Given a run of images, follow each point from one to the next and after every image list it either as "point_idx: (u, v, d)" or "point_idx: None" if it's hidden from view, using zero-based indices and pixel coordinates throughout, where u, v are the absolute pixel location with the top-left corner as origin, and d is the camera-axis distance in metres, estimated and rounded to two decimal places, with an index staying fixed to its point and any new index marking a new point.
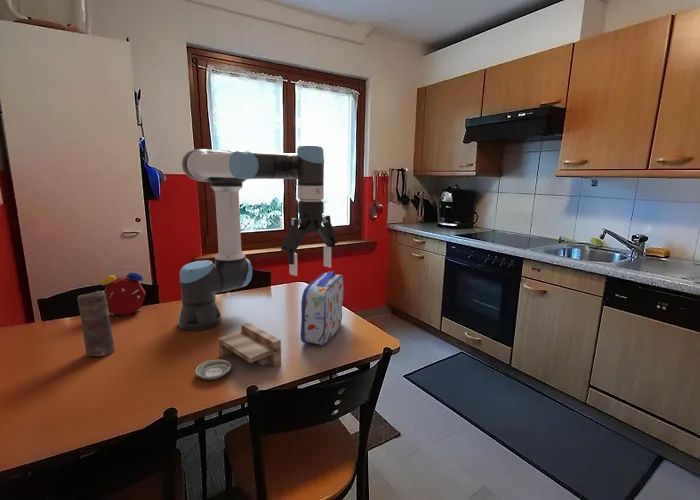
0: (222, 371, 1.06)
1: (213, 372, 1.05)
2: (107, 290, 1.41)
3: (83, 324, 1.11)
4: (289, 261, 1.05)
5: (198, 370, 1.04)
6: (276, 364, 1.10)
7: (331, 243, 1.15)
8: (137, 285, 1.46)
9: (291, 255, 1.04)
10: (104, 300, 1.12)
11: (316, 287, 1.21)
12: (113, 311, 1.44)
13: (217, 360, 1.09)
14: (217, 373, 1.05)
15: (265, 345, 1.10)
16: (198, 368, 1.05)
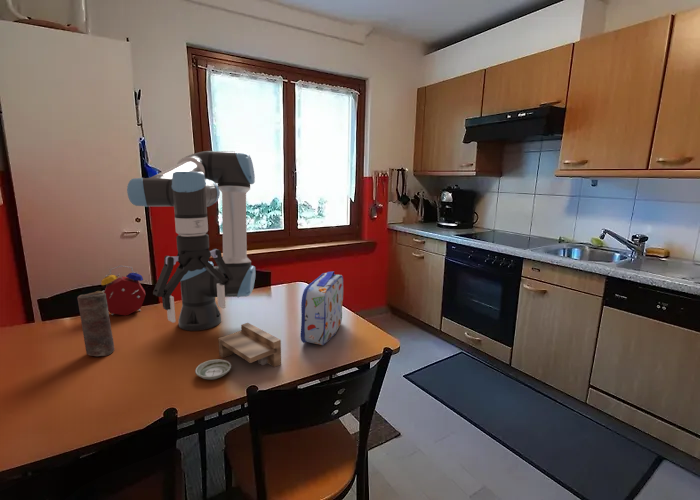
0: (222, 371, 1.06)
1: (213, 372, 1.05)
2: (107, 290, 1.41)
3: (83, 324, 1.11)
4: (164, 306, 0.89)
5: (198, 370, 1.04)
6: (276, 364, 1.10)
7: (224, 281, 1.00)
8: (137, 285, 1.46)
9: (166, 299, 0.89)
10: (104, 300, 1.12)
11: (316, 287, 1.21)
12: (113, 311, 1.44)
13: (217, 360, 1.09)
14: (217, 373, 1.05)
15: (265, 345, 1.10)
16: (198, 368, 1.05)
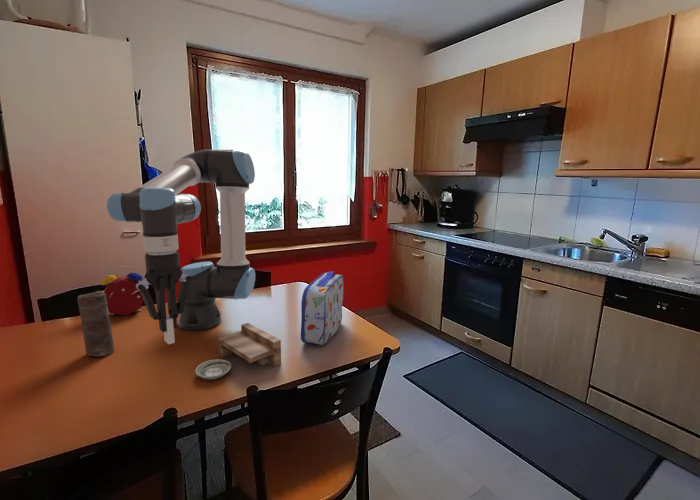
0: (222, 371, 1.06)
1: (213, 372, 1.05)
2: (107, 290, 1.41)
3: (83, 324, 1.11)
4: (160, 328, 0.92)
5: (198, 370, 1.04)
6: (276, 364, 1.10)
7: (174, 313, 0.93)
8: None
9: (162, 322, 0.91)
10: (104, 300, 1.12)
11: (316, 287, 1.21)
12: (113, 311, 1.44)
13: (217, 360, 1.09)
14: (217, 373, 1.05)
15: (265, 345, 1.10)
16: (198, 368, 1.05)
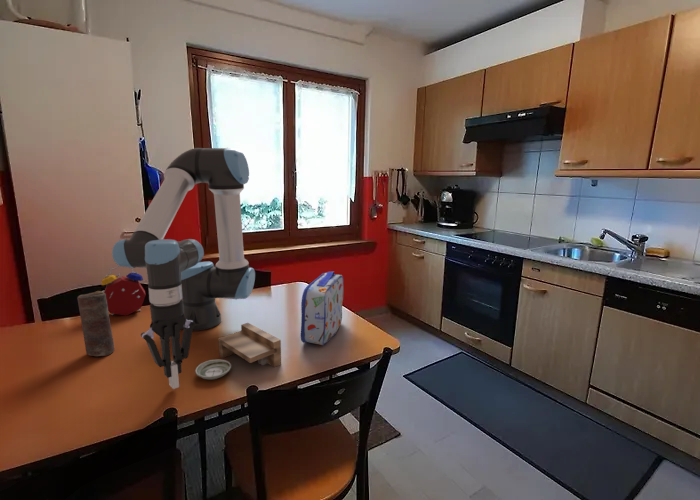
0: (222, 371, 1.06)
1: (213, 372, 1.05)
2: (107, 290, 1.41)
3: (83, 324, 1.11)
4: (165, 374, 0.95)
5: (198, 370, 1.04)
6: (276, 364, 1.10)
7: (178, 359, 0.96)
8: (137, 285, 1.46)
9: (167, 368, 0.94)
10: (104, 300, 1.12)
11: (316, 287, 1.21)
12: (113, 311, 1.44)
13: (217, 360, 1.09)
14: (217, 373, 1.05)
15: (265, 345, 1.10)
16: (198, 368, 1.05)
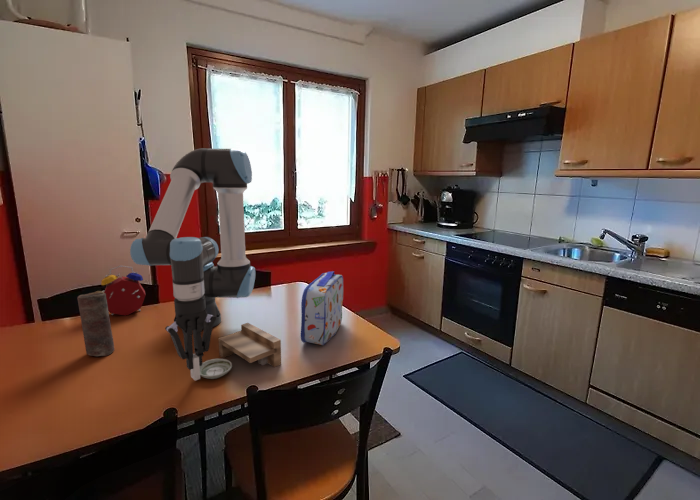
0: (223, 370, 1.06)
1: (214, 371, 1.05)
2: (107, 290, 1.41)
3: (83, 324, 1.11)
4: (188, 366, 0.99)
5: None
6: (276, 364, 1.10)
7: (200, 351, 1.00)
8: (137, 285, 1.46)
9: (189, 360, 0.99)
10: (104, 300, 1.12)
11: (316, 286, 1.21)
12: (113, 311, 1.44)
13: (218, 359, 1.09)
14: (218, 372, 1.05)
15: (265, 345, 1.10)
16: None
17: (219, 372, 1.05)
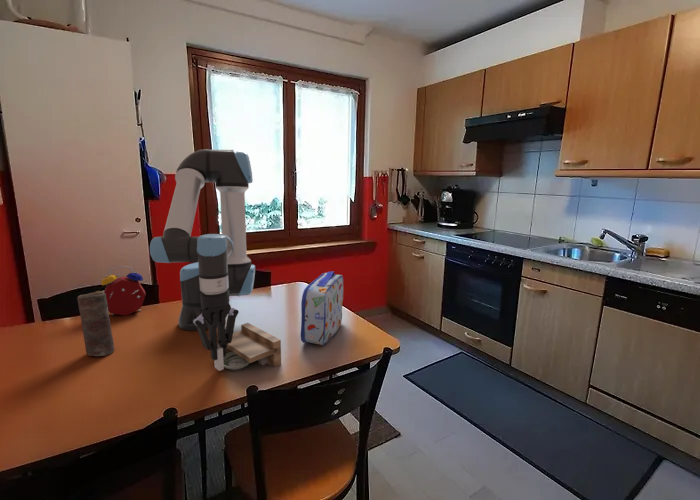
0: (244, 362, 1.11)
1: (236, 363, 1.10)
2: (107, 290, 1.41)
3: (83, 324, 1.11)
4: (212, 357, 1.04)
5: None
6: (276, 364, 1.10)
7: (224, 343, 1.05)
8: (137, 285, 1.46)
9: (214, 351, 1.03)
10: (104, 300, 1.12)
11: (316, 287, 1.21)
12: (113, 311, 1.44)
13: None
14: (240, 364, 1.10)
15: (265, 345, 1.10)
16: None
17: (241, 363, 1.10)
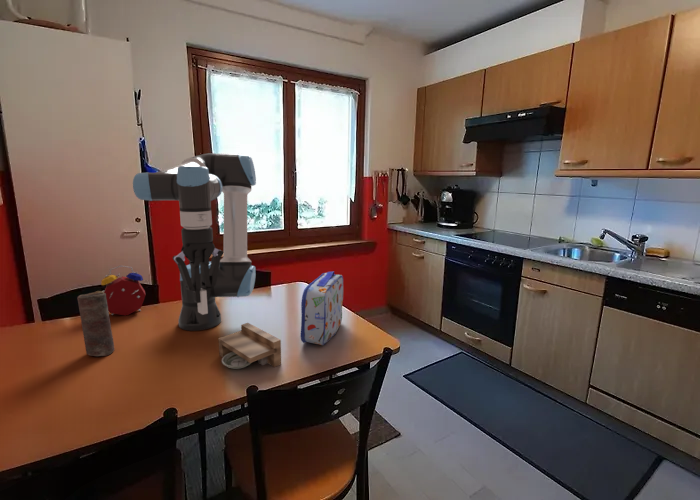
0: (247, 361, 1.11)
1: (239, 362, 1.11)
2: (107, 290, 1.41)
3: (83, 324, 1.11)
4: (195, 299, 0.98)
5: (224, 361, 1.09)
6: (276, 364, 1.10)
7: (207, 285, 0.99)
8: (137, 285, 1.46)
9: (197, 293, 0.97)
10: (104, 300, 1.12)
11: (316, 287, 1.21)
12: (113, 311, 1.44)
13: None
14: (242, 363, 1.10)
15: (265, 345, 1.10)
16: (224, 358, 1.10)
17: (243, 363, 1.10)
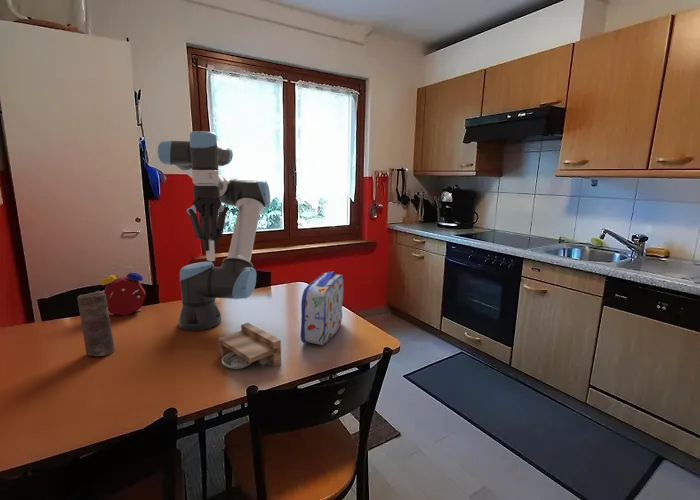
0: (247, 361, 1.11)
1: (239, 362, 1.11)
2: (107, 290, 1.41)
3: (83, 324, 1.11)
4: (204, 248, 1.14)
5: (224, 361, 1.09)
6: (276, 364, 1.10)
7: (215, 236, 1.15)
8: (137, 285, 1.46)
9: (206, 242, 1.13)
10: (104, 300, 1.12)
11: (316, 287, 1.21)
12: (113, 311, 1.44)
13: None
14: (242, 363, 1.10)
15: (265, 345, 1.10)
16: (224, 358, 1.10)
17: (243, 363, 1.10)
